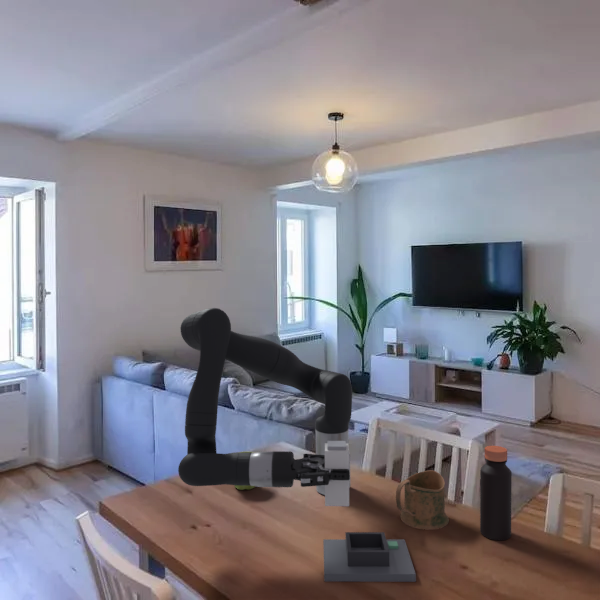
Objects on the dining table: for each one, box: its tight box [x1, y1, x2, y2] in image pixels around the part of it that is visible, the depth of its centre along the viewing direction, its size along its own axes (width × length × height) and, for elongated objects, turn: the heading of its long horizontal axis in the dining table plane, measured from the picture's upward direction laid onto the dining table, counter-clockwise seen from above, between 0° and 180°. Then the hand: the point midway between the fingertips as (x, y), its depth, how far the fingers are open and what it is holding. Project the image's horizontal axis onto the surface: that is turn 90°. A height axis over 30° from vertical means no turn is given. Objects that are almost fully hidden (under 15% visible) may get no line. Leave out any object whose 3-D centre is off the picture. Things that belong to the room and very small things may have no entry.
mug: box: [395, 469, 450, 531], centre depth 133 cm, size 12×18×12 cm, turn 137°
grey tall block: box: [324, 441, 350, 507], centre depth 120 cm, size 5×5×13 cm
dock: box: [323, 531, 417, 583], centre depth 115 cm, size 18×14×4 cm
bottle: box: [479, 445, 512, 541], centre depth 127 cm, size 7×7×20 cm
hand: (348, 469), depth 120 cm, fingers closed on grey tall block, 5 cm apart
